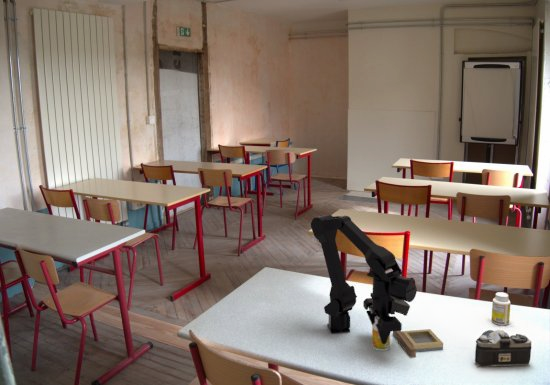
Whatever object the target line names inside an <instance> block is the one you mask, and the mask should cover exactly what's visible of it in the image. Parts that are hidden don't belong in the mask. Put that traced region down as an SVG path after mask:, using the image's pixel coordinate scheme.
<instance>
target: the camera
mask: <svg viewBox="0 0 550 385" xmlns="http://www.w3.org/2000/svg"><path fill="white" fill-rule="evenodd" d="M475 343H476V344H475V352H474V354H475V357H474V363H475V364H476V365H477V366H478V367H481V368H482V367H483V368H484V367H485V368H487V367H490V368H491V367H508V366H523V367H526V366H529V364H530V362H531V354H532V340H530V338H529V337H527V336H526V335H524V334H521V333H516V334H515V335H512V334H511V335H509V334H508V333H507V332H506V331H505V330H503V329H497V330H492V329H489V330H486V331H483V332H482V334H481V335H480V336H479V337H478V338H477V339H476V340H475Z"/></svg>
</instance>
